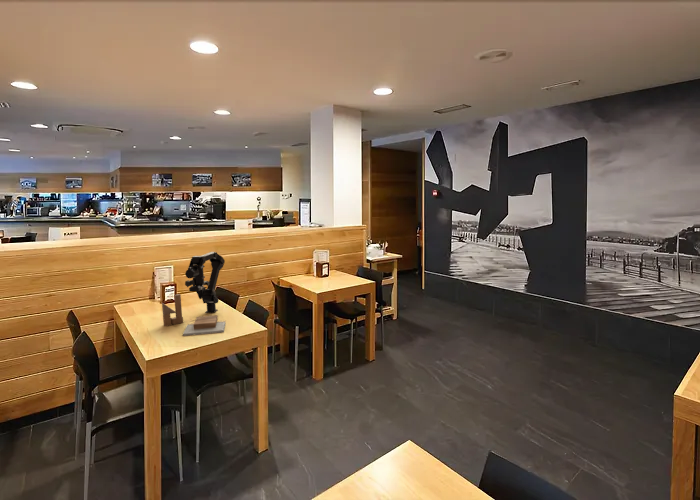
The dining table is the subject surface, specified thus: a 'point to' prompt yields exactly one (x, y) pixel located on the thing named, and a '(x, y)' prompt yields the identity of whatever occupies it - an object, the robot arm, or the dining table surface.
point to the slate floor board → (204, 329)
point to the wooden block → (168, 311)
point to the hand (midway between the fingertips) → (200, 299)
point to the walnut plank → (205, 322)
